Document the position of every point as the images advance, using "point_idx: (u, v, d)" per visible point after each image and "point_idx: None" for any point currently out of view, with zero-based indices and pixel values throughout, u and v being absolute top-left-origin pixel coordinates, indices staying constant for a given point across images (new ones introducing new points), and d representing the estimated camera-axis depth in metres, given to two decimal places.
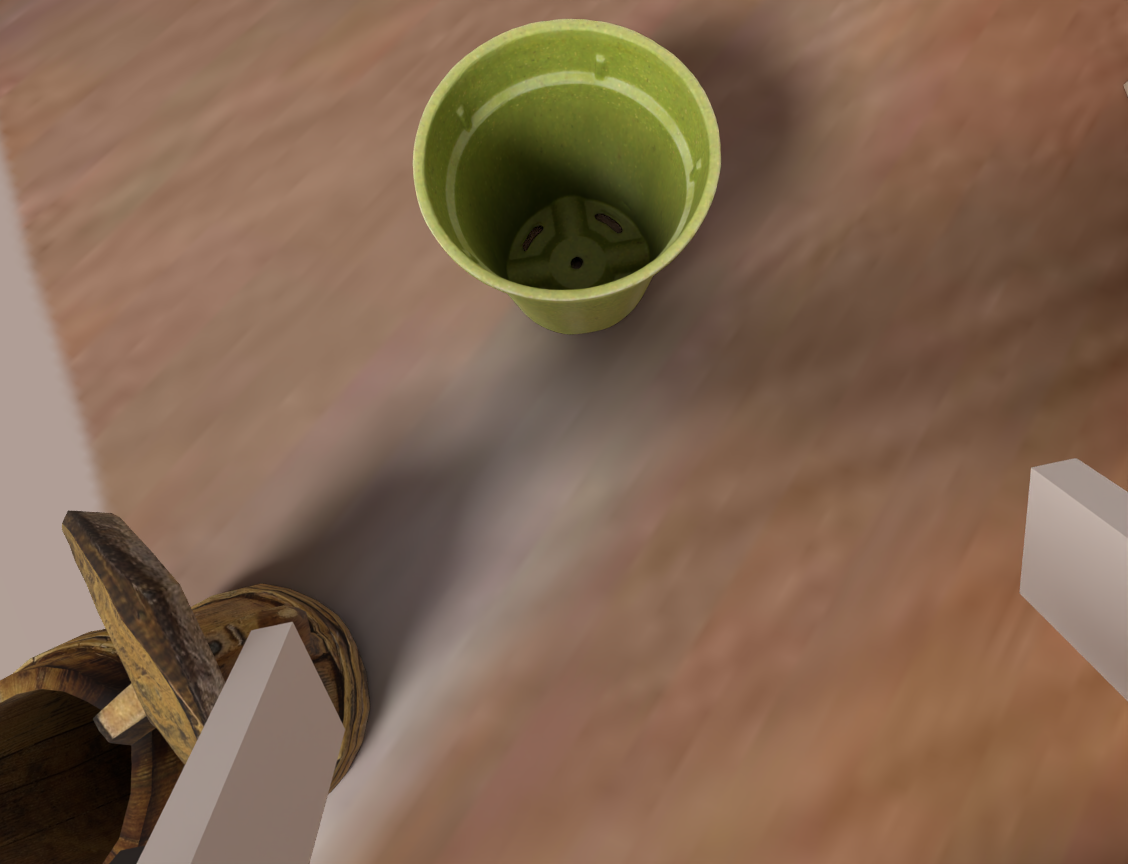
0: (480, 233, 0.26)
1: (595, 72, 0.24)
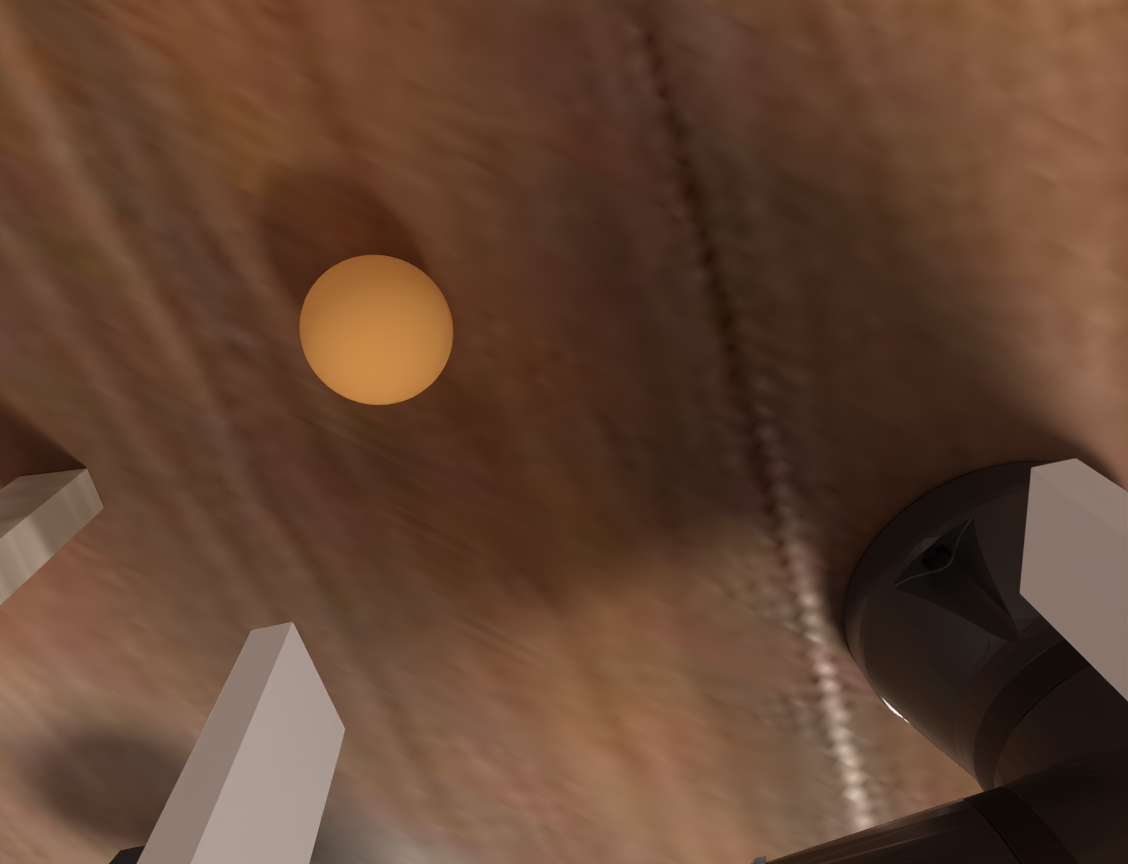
0: None
1: None
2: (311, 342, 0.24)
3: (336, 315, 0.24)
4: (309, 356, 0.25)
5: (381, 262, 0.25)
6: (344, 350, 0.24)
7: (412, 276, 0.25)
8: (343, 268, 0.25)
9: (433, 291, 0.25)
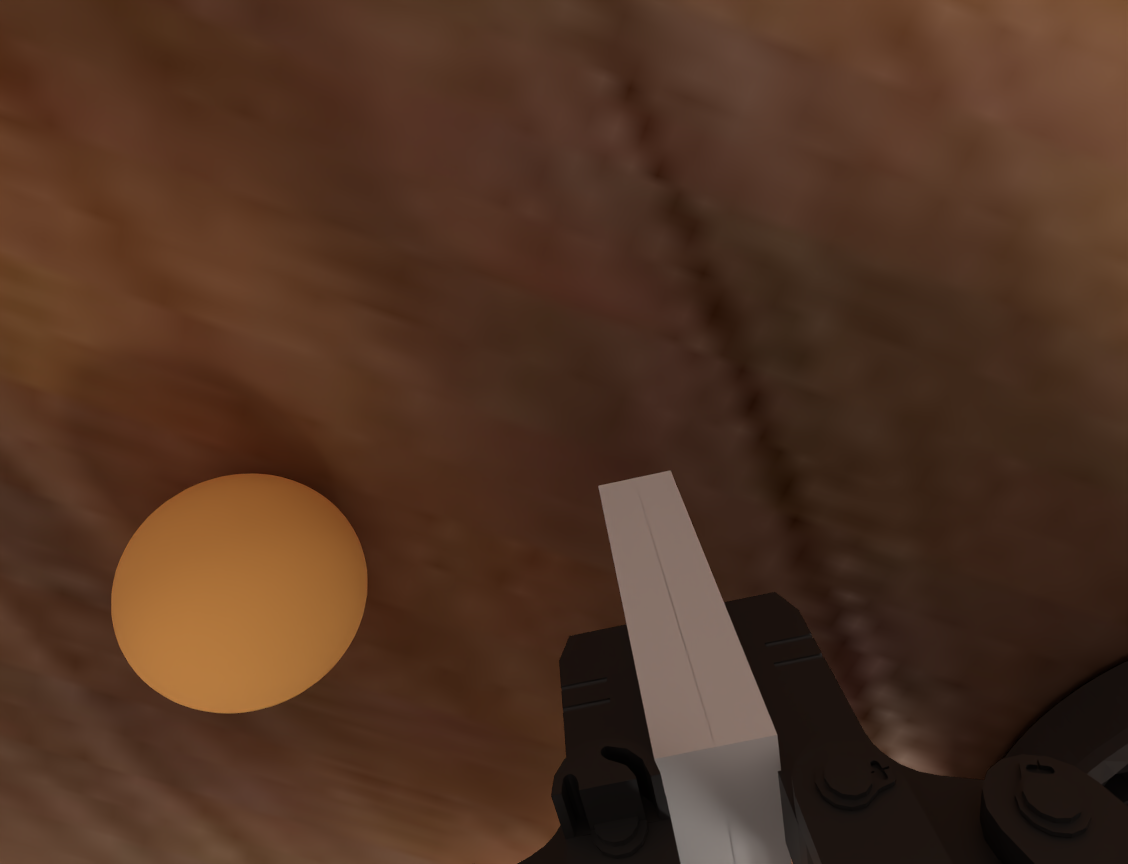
0: None
1: None
2: (123, 649, 0.15)
3: (149, 616, 0.14)
4: None
5: (226, 504, 0.15)
6: (170, 670, 0.14)
7: (278, 520, 0.15)
8: (164, 522, 0.15)
9: (319, 534, 0.16)
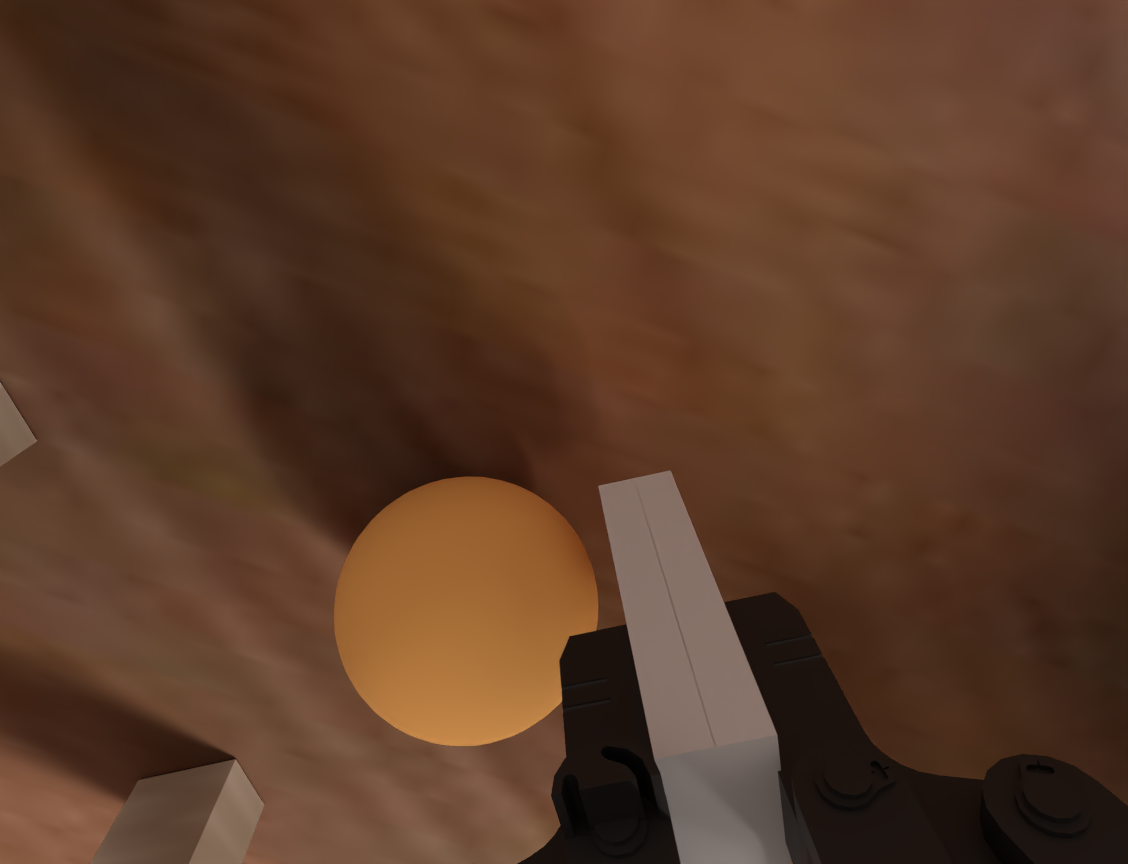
0: None
1: None
2: None
3: None
4: None
5: (396, 522, 0.14)
6: None
7: (373, 578, 0.13)
8: (413, 490, 0.15)
9: (379, 629, 0.13)
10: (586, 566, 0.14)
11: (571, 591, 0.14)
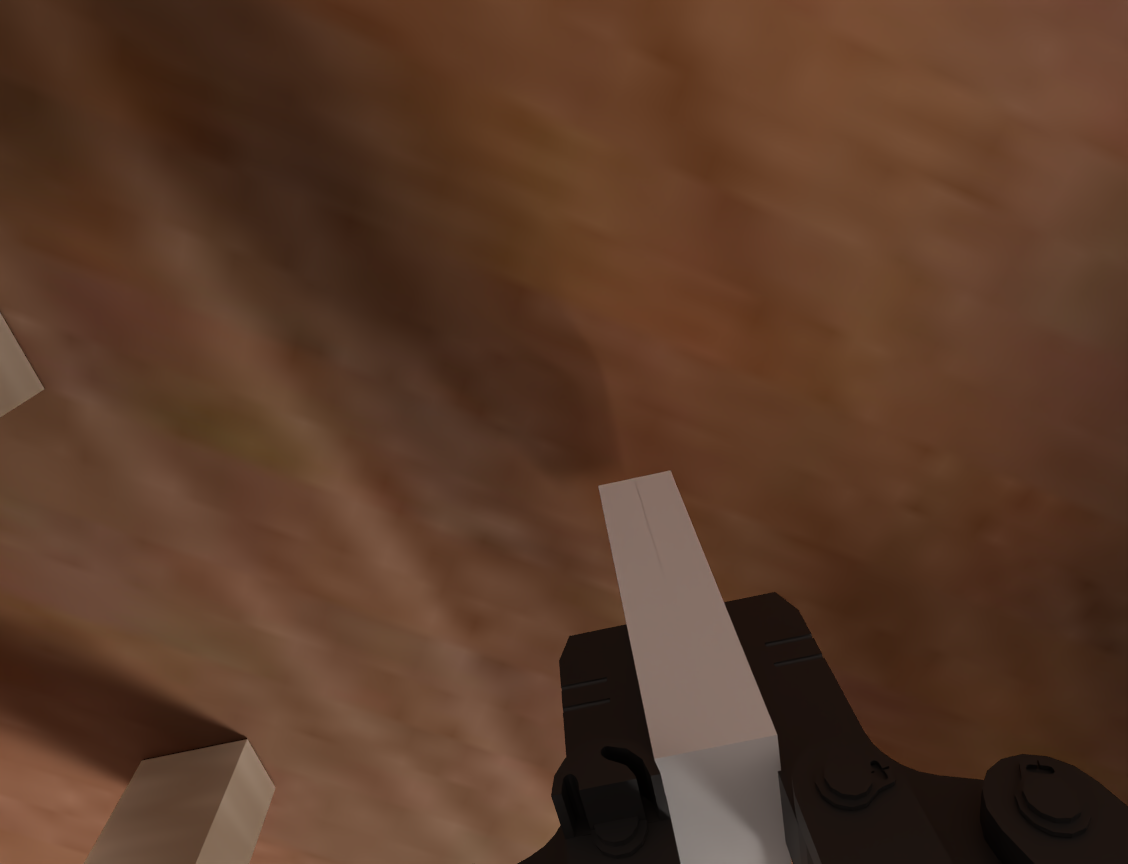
0: None
1: None
2: None
3: None
4: None
5: None
6: None
7: None
8: None
9: None
10: None
11: None
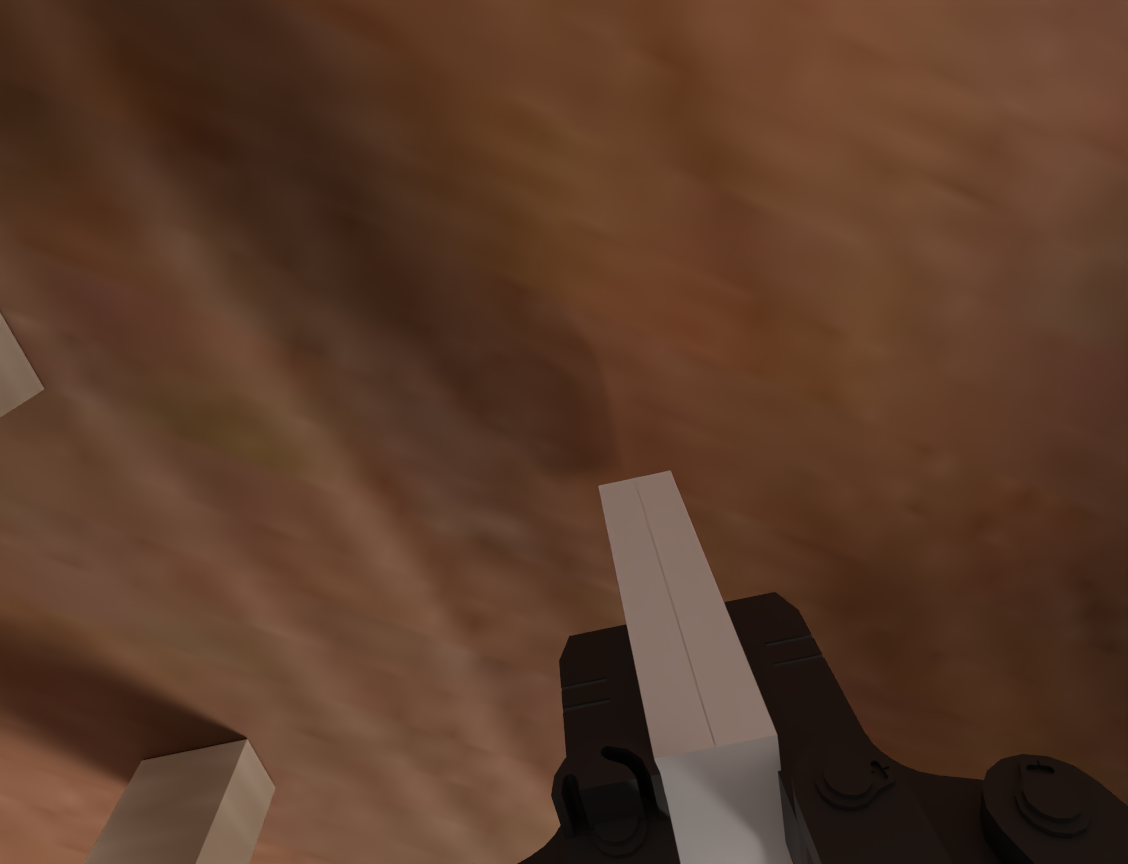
0: None
1: None
2: None
3: None
4: None
5: None
6: None
7: None
8: None
9: None
10: None
11: None
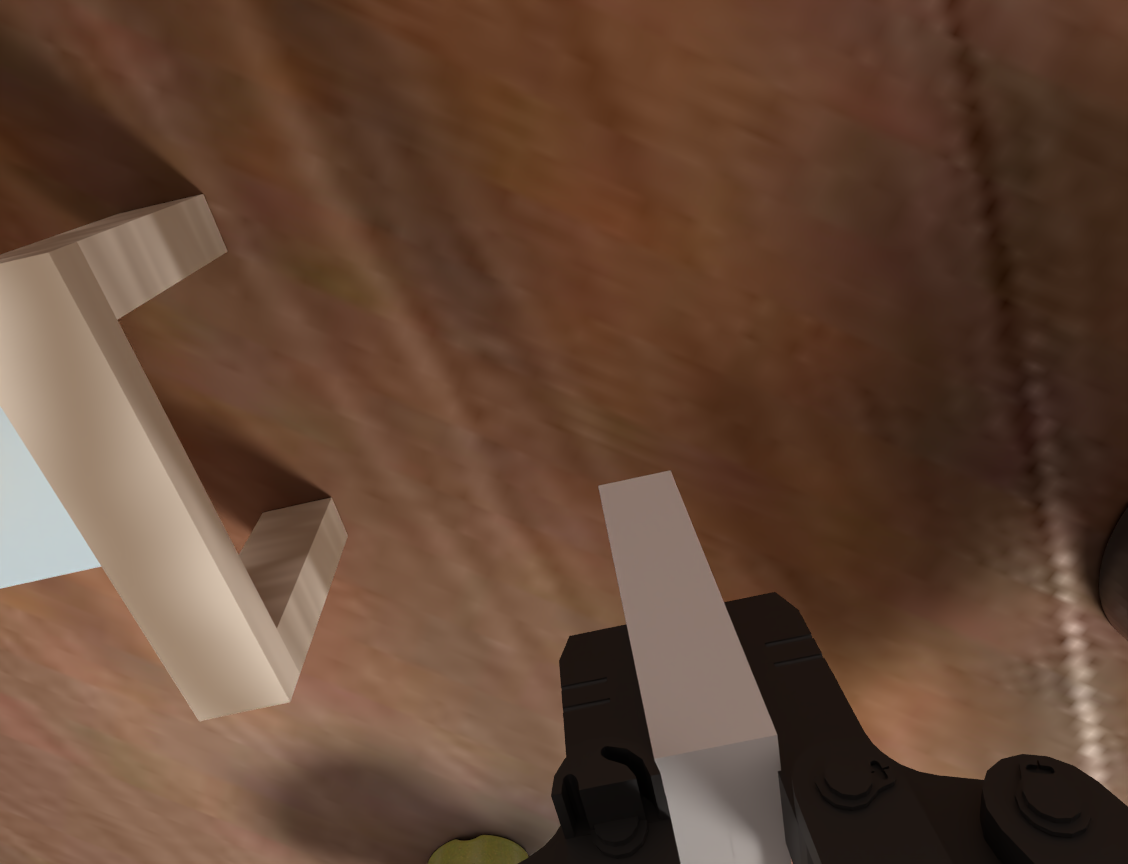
0: None
1: None
2: None
3: None
4: None
5: None
6: None
7: None
8: None
9: None
10: None
11: None
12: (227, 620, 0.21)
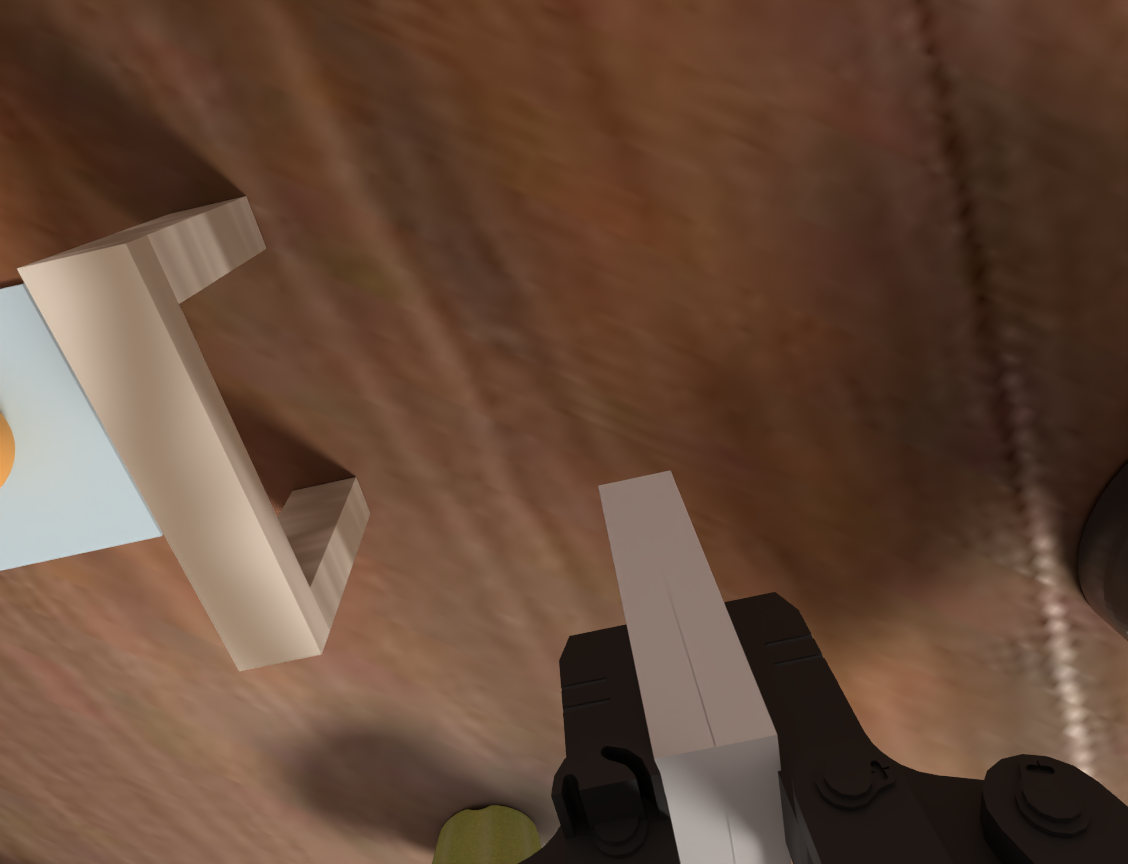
0: None
1: None
2: None
3: None
4: None
5: None
6: (4, 424, 0.28)
7: None
8: None
9: None
10: None
11: None
12: (268, 576, 0.23)
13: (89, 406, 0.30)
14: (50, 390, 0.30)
